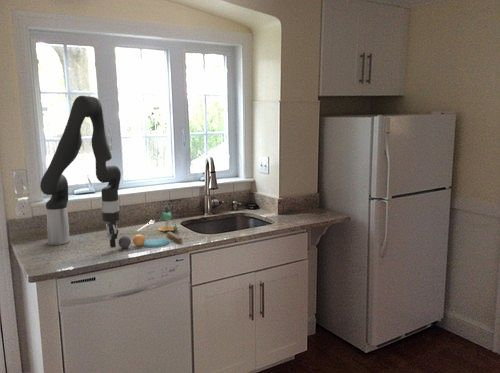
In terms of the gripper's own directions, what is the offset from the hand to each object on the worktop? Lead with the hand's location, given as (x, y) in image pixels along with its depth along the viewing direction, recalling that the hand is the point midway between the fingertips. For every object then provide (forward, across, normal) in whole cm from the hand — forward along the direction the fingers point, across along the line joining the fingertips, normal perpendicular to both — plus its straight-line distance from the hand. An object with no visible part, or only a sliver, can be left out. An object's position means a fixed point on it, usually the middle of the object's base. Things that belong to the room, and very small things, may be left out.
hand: (112, 247), depth 201 cm
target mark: (+2, 0, +20) cm, 20 cm away
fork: (+2, -33, +26) cm, 42 cm away
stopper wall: (+2, 0, +30) cm, 30 cm away
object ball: (-1, 0, +12) cm, 12 cm away
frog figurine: (+2, -18, +34) cm, 39 cm away
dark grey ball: (-1, -1, +6) cm, 6 cm away
